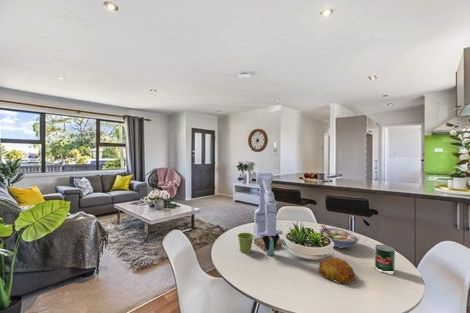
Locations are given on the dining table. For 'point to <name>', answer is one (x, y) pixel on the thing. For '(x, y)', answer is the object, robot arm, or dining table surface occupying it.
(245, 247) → the plant pot
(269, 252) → the peg
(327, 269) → the golden brown oval lump
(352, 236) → the ramen bowl
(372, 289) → the dining table surface
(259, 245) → the socket block
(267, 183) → the robot arm
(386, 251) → the canned tomato
